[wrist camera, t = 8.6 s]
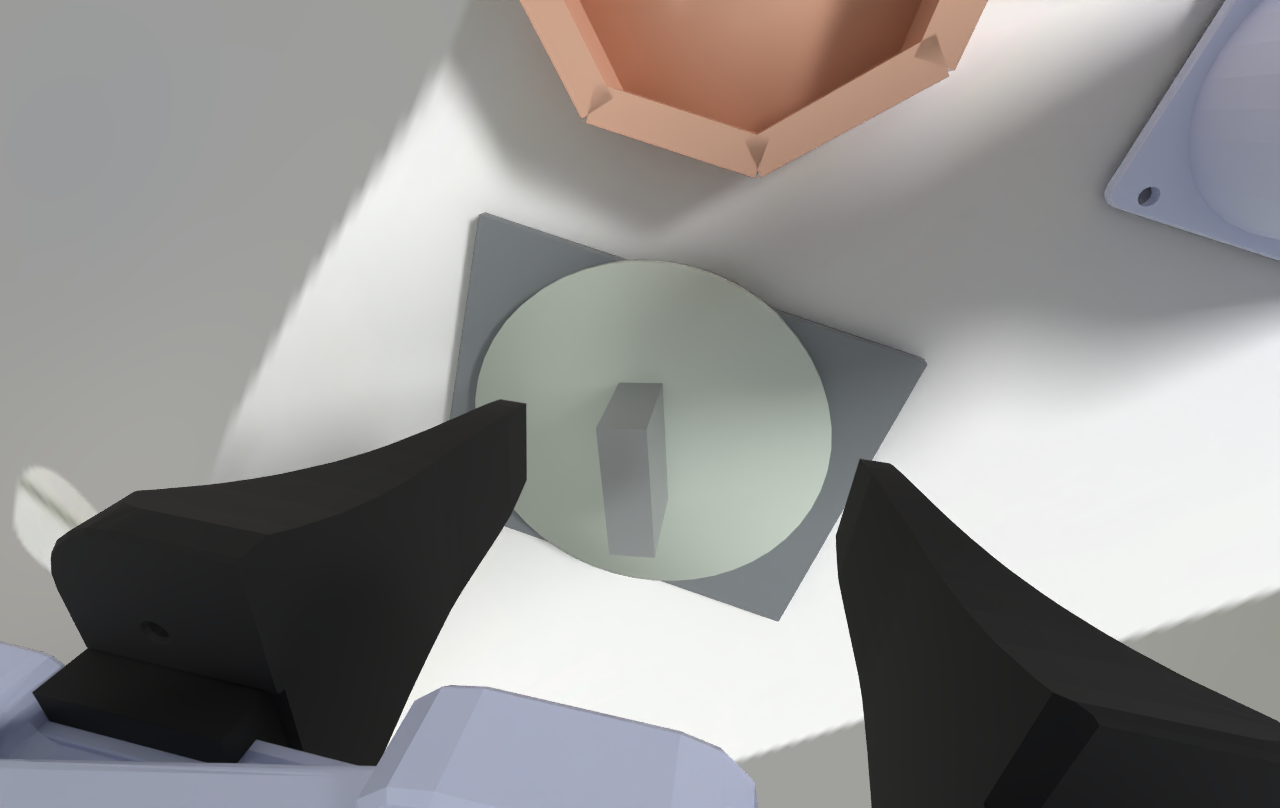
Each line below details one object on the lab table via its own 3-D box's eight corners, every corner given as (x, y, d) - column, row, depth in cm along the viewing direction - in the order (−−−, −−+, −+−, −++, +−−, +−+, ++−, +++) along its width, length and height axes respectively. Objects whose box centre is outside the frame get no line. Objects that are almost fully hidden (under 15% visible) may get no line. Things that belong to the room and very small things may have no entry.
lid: (846, 254, 18) (869, 288, 15) (816, 582, 24) (826, 664, 21) (450, 263, 21) (386, 294, 17) (510, 559, 27) (472, 628, 23)
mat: (923, 358, 20) (927, 363, 19) (777, 613, 26) (778, 621, 25) (485, 212, 20) (478, 214, 20) (443, 496, 26) (438, 502, 26)
